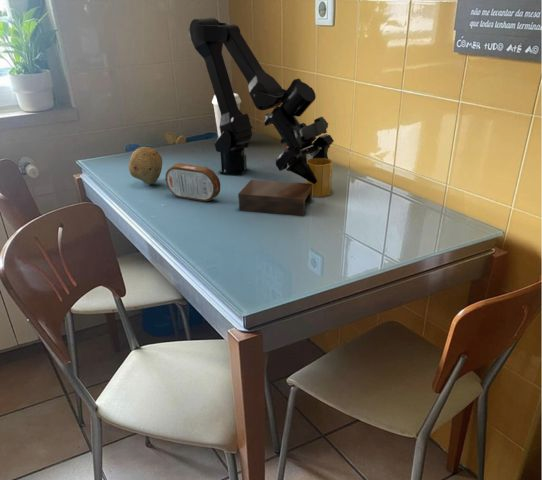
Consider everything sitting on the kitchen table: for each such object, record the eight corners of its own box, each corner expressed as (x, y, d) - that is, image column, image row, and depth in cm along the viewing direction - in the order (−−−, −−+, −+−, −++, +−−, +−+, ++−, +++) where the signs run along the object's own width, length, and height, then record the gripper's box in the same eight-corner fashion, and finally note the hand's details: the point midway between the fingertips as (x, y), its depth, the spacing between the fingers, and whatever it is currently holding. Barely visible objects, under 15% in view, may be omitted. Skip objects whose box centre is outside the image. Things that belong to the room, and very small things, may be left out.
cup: (309, 197, 139) (310, 166, 135) (304, 189, 145) (304, 158, 140) (333, 196, 140) (335, 164, 135) (327, 187, 145) (328, 157, 141)
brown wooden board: (239, 210, 132) (238, 193, 130) (251, 195, 141) (251, 179, 139) (303, 216, 129) (303, 198, 127) (311, 200, 138) (312, 183, 135)
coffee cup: (211, 146, 180) (208, 97, 171) (218, 139, 188) (215, 92, 179) (239, 147, 179) (237, 98, 170) (245, 140, 186) (243, 92, 178)
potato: (134, 191, 145) (128, 153, 139) (129, 181, 152) (122, 144, 146) (168, 186, 148) (163, 149, 142) (161, 177, 154) (156, 141, 149)
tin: (222, 200, 138) (219, 167, 133) (216, 204, 136) (213, 171, 131) (172, 192, 144) (168, 160, 139) (165, 196, 141) (161, 164, 136)
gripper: (284, 114, 127) (322, 170, 127) (329, 100, 138) (363, 152, 139) (259, 143, 135) (294, 196, 136) (303, 129, 147) (335, 177, 148)
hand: (323, 179), depth 139 cm, fingers closed on cup, 6 cm apart
